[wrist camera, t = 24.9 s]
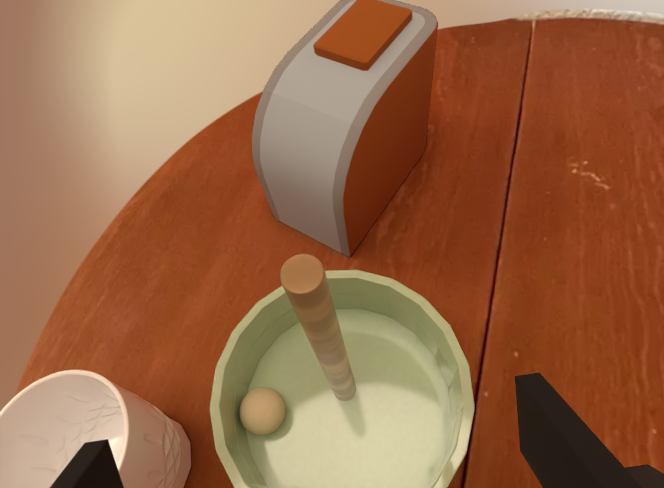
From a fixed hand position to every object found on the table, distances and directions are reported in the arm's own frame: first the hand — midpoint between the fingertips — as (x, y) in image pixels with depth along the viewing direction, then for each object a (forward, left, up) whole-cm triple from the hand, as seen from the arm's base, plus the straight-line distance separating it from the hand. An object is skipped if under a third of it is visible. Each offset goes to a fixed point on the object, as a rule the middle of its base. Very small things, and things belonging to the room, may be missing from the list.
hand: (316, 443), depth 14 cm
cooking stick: (-5, +3, -16) cm, 17 cm away
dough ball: (-6, -3, -15) cm, 17 cm away
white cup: (-9, -11, -17) cm, 22 cm away
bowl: (-4, +2, -17) cm, 18 cm away
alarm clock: (-20, +15, -17) cm, 30 cm away
